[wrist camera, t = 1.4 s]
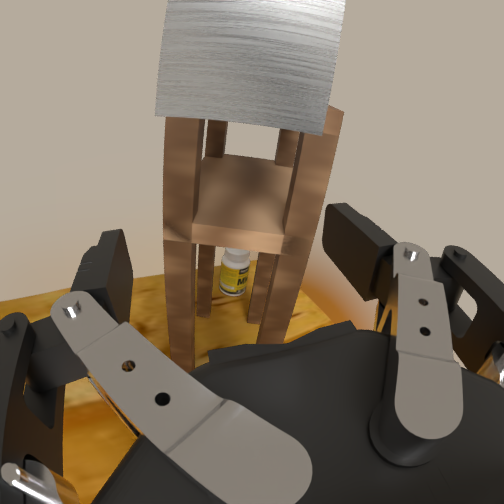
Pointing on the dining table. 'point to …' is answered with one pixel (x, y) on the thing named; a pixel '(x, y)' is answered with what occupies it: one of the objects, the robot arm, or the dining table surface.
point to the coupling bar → (250, 61)
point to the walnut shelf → (239, 221)
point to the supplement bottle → (234, 271)
